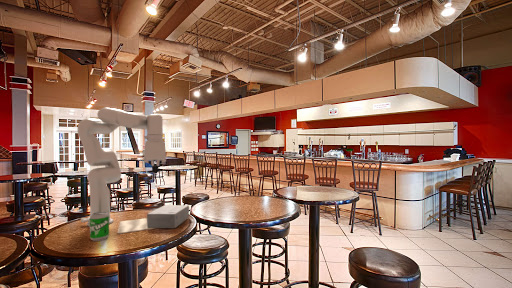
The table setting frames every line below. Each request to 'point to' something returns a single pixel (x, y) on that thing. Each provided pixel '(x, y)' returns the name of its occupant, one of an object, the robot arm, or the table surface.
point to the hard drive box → (167, 216)
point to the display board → (133, 226)
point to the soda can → (99, 226)
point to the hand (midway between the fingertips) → (155, 173)
